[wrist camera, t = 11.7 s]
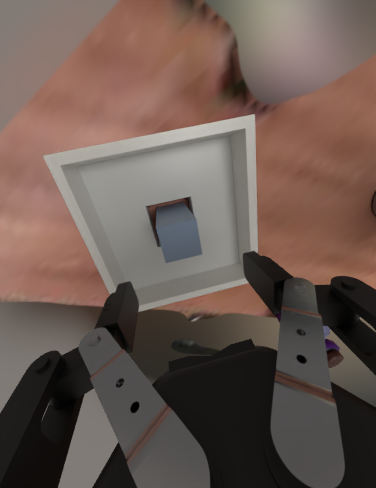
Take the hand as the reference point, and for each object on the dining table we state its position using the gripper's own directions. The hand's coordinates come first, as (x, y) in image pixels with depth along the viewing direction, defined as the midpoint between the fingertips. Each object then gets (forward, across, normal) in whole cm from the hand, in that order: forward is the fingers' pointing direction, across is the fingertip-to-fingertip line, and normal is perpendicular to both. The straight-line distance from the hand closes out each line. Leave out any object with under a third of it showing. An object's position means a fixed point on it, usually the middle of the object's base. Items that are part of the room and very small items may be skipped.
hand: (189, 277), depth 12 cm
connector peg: (+16, 0, 0) cm, 16 cm away
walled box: (+16, 0, 0) cm, 16 cm away
